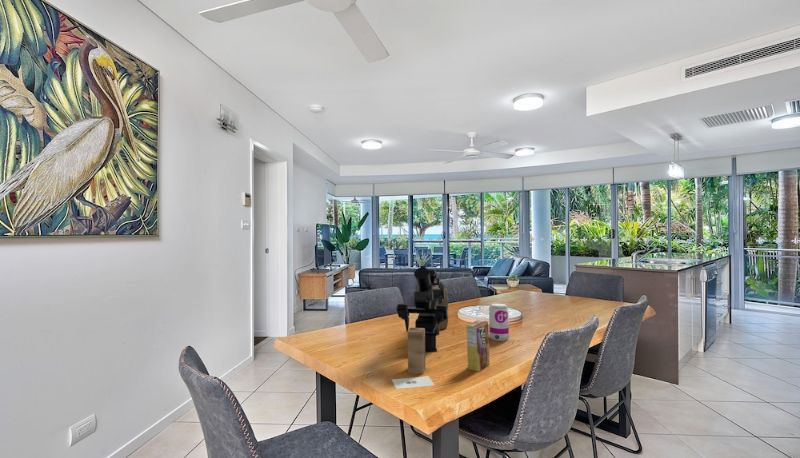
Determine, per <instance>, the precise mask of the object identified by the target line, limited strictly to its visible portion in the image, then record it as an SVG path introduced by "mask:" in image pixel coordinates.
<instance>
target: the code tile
mask: <svg viewBox="0 0 800 458" xmlns="http://www.w3.org/2000/svg"><path fill="white" fill-rule="evenodd" d="M391 381H392V384H393V385H394V389H396V390H401V389H409V388H410V389H411V388H412V389H413V388H421V387H432V386H433V387H434V386H435V383H434V382H433V380H432V379H431V378H430V376H428V375H425V376H424V375H423V376H415V377H404V378H395V379H394V378H393V379H391Z"/></svg>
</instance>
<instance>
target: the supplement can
mask: <svg viewBox="0 0 800 458" xmlns="http://www.w3.org/2000/svg"><path fill="white" fill-rule="evenodd" d="M488 312H489V313H488V315H489V317H488V335H489V338H490V339H491V340H492V339H493V340H492V341H496V342H504V341H508V339H509V338H510V336H509V335H510V333H509V329H510V327H509V326H510V323H509V307H508V305H507V304H505V303H497V302H496V303H490V305H489V307H488Z"/></svg>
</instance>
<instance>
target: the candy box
mask: <svg viewBox="0 0 800 458" xmlns="http://www.w3.org/2000/svg"><path fill="white" fill-rule="evenodd" d="M489 338H490V336H489V320H488V321H487V320H482V319H481V320H480V319H478V320H475V321H474V322H470V323H469V324H468V323H467V324H466V347H467V348H466V350H467V351H466V352H467V353H466V354H467V369H468V370H471V371H475V372H478V373H479V372H480V371H482V370H483V369H485V368H486V367H488V366H489V365H491V364H490V363H491V362H490V342H489Z"/></svg>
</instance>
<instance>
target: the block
mask: <svg viewBox="0 0 800 458" xmlns="http://www.w3.org/2000/svg"><path fill="white" fill-rule="evenodd" d="M433 289H440V288H439V287H438V286H433ZM447 289H448V288H446V287H445V299H444V300H443V303H441V304H439V305H446V306H447V309H448V310H449V299H448V298H449V296H448V290H447ZM448 324H449V318H448V319H447V320H444V321H442V322H441V323H440V324H439V330H445V329H447V328H448Z"/></svg>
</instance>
